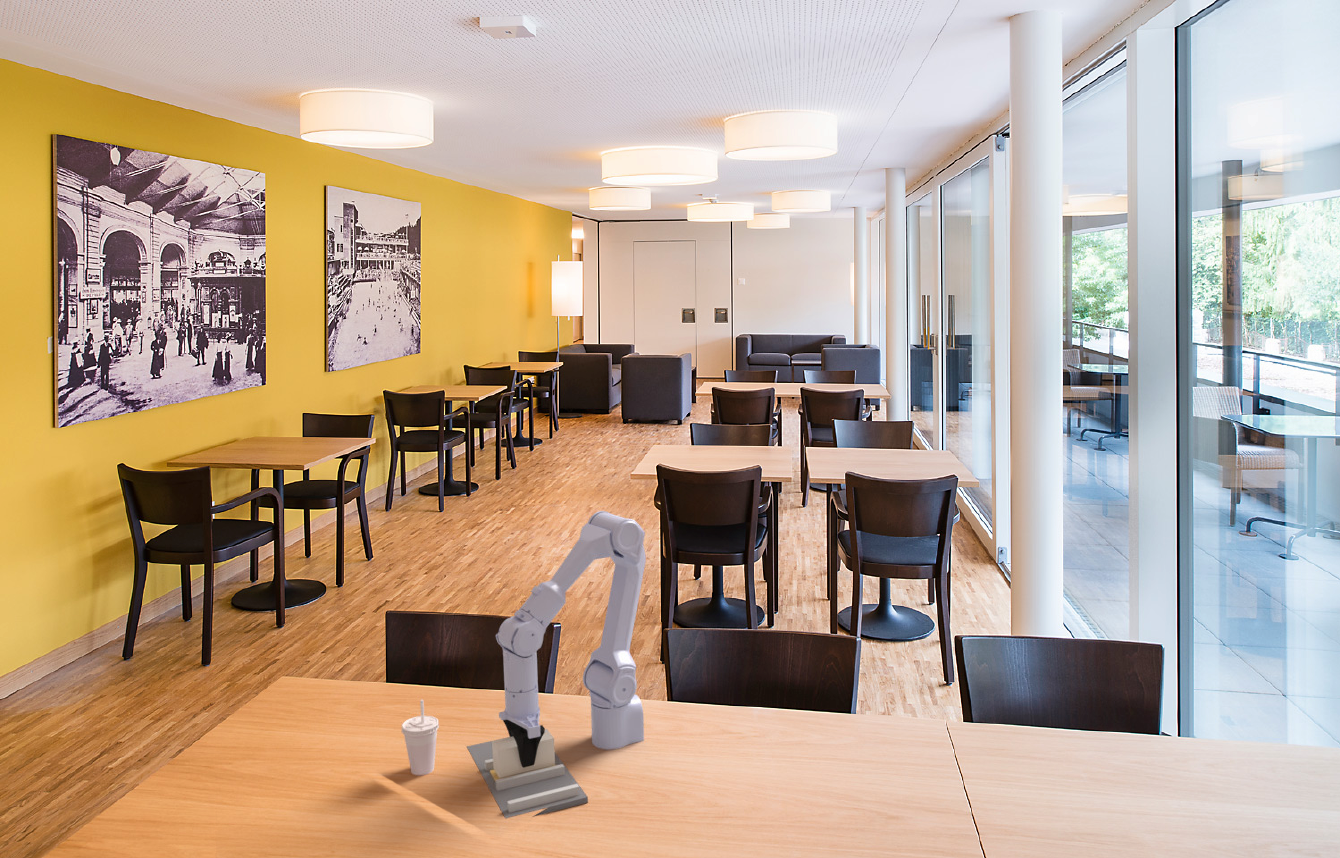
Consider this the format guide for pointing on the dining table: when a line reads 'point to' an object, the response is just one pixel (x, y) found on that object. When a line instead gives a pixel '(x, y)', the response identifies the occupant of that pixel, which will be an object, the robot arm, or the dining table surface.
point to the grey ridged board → (528, 785)
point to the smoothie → (421, 742)
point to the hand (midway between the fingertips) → (524, 759)
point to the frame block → (508, 756)
